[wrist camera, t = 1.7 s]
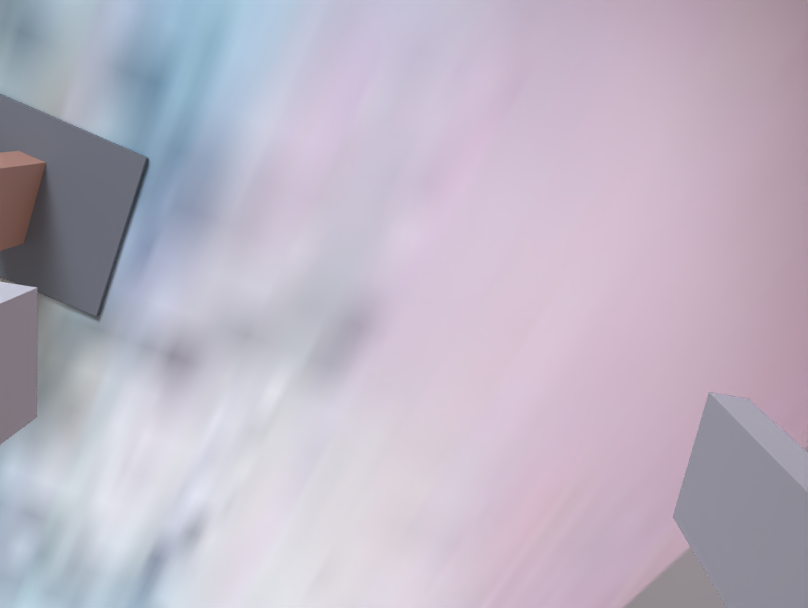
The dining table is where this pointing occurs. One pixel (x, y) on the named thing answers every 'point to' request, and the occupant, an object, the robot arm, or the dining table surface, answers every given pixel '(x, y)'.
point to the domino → (17, 195)
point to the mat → (69, 206)
